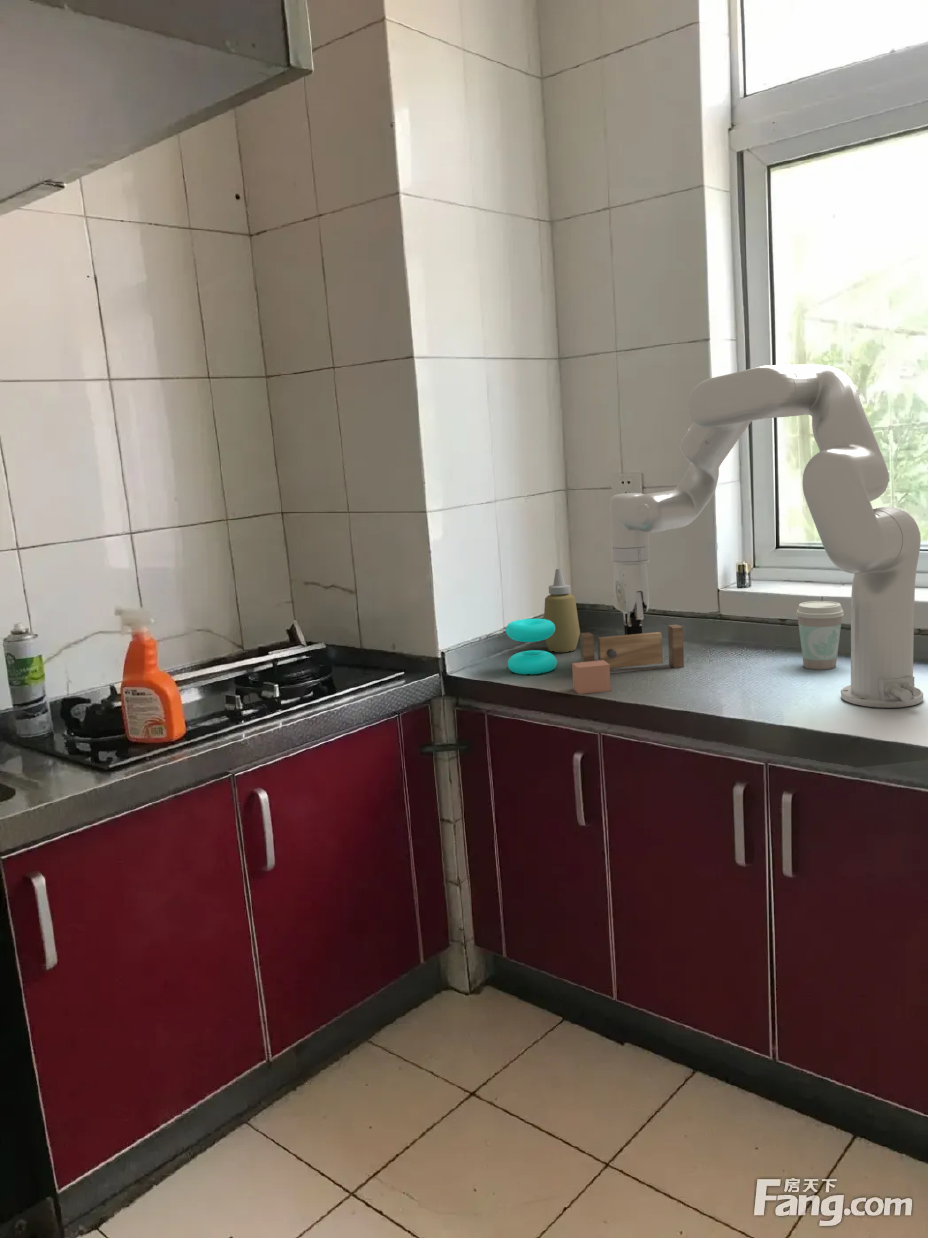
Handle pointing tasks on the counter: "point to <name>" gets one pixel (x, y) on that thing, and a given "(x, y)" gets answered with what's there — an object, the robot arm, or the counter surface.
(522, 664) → the donuts
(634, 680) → the counter surface
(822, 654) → the coffee cup
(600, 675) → the salmon pink block
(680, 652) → the door frame
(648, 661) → the door
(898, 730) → the counter surface
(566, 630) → the squeeze bottle
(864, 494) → the robot arm
